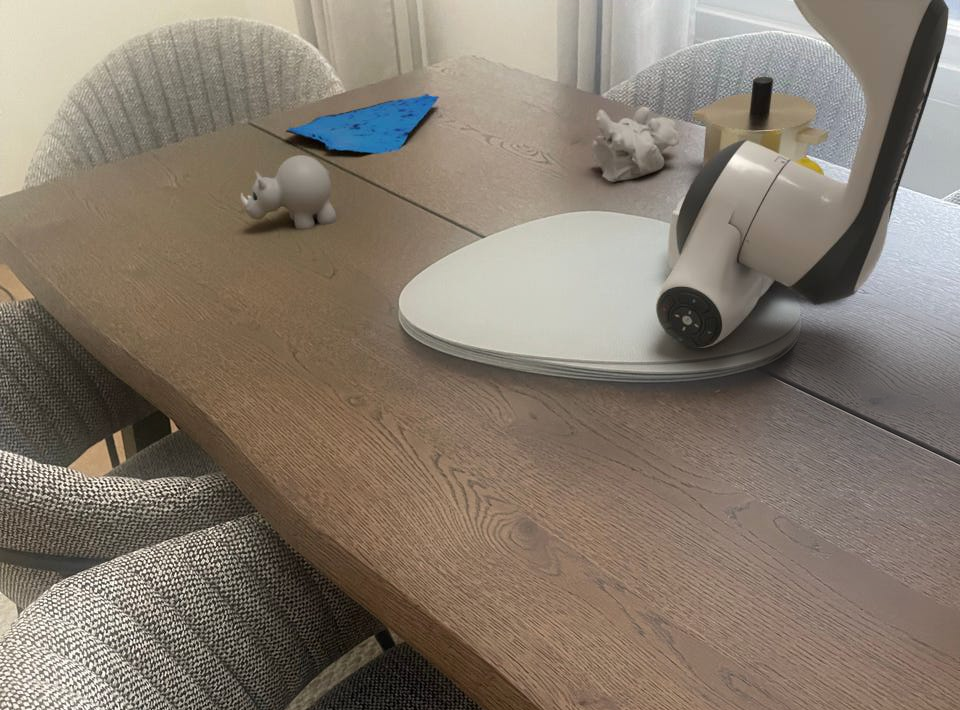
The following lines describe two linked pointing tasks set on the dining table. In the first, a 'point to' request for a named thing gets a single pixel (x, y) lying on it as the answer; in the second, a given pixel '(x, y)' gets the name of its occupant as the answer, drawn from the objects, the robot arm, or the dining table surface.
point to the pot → (762, 140)
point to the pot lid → (760, 111)
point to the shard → (369, 126)
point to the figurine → (632, 145)
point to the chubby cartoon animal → (294, 193)
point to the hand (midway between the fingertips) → (787, 201)
